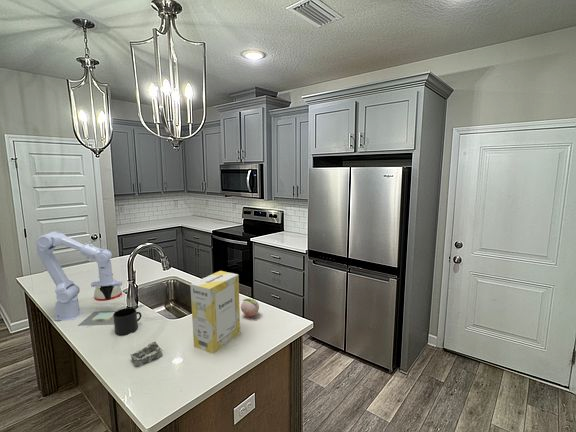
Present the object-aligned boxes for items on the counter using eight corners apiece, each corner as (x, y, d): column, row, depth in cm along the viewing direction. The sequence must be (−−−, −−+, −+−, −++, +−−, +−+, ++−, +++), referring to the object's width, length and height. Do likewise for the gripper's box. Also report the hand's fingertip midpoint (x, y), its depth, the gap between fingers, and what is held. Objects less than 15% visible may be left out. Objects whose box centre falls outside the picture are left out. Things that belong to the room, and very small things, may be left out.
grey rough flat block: (157, 349, 128) (156, 340, 128) (164, 357, 123) (163, 347, 122) (129, 359, 121) (128, 350, 121) (135, 369, 116) (134, 359, 115)
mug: (147, 327, 145) (145, 309, 144) (120, 338, 136) (118, 319, 134) (137, 320, 151) (136, 303, 149) (111, 331, 142) (109, 313, 140)
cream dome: (88, 299, 176) (85, 274, 173) (110, 290, 188) (108, 266, 186) (106, 303, 171) (103, 277, 168) (127, 293, 183) (124, 269, 181)
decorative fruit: (262, 314, 157) (262, 296, 155) (254, 321, 150) (253, 302, 148) (247, 311, 161) (246, 293, 159) (238, 318, 154) (237, 299, 152)
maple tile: (100, 314, 156) (92, 321, 149) (99, 312, 156) (91, 319, 149) (116, 314, 157) (109, 321, 150) (115, 312, 157) (108, 318, 150)
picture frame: (77, 326, 146) (77, 325, 146) (94, 312, 160) (94, 311, 160) (116, 325, 147) (116, 324, 147) (129, 311, 161) (129, 310, 161)
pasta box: (212, 353, 125) (209, 289, 120) (194, 346, 130) (190, 284, 125) (240, 332, 140) (238, 274, 136) (222, 326, 145) (220, 270, 141)
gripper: (124, 271, 159) (126, 295, 161) (95, 271, 158) (98, 296, 161) (117, 276, 152) (119, 301, 154) (87, 276, 151) (90, 302, 154)
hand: (108, 299), depth 157 cm, fingers closed
